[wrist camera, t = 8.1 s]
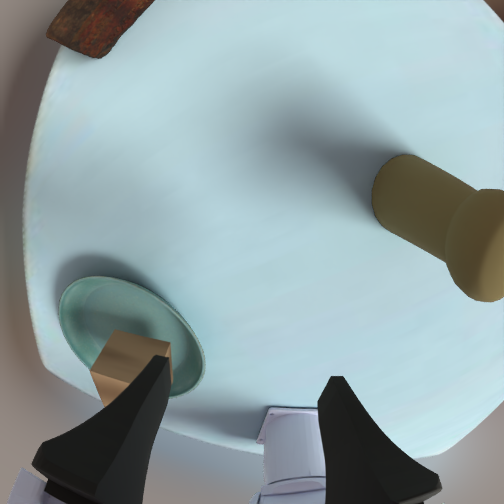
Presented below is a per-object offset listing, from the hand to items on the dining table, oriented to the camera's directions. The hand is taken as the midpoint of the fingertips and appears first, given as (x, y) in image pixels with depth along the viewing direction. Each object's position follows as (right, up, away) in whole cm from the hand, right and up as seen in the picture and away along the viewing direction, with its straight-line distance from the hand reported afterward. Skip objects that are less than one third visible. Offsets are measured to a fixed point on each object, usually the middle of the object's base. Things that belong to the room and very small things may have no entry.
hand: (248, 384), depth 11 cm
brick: (-8, +24, +1) cm, 26 cm away
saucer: (-11, -2, +13) cm, 17 cm away
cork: (+11, +10, +6) cm, 16 cm away
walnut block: (-9, -3, +10) cm, 14 cm away
